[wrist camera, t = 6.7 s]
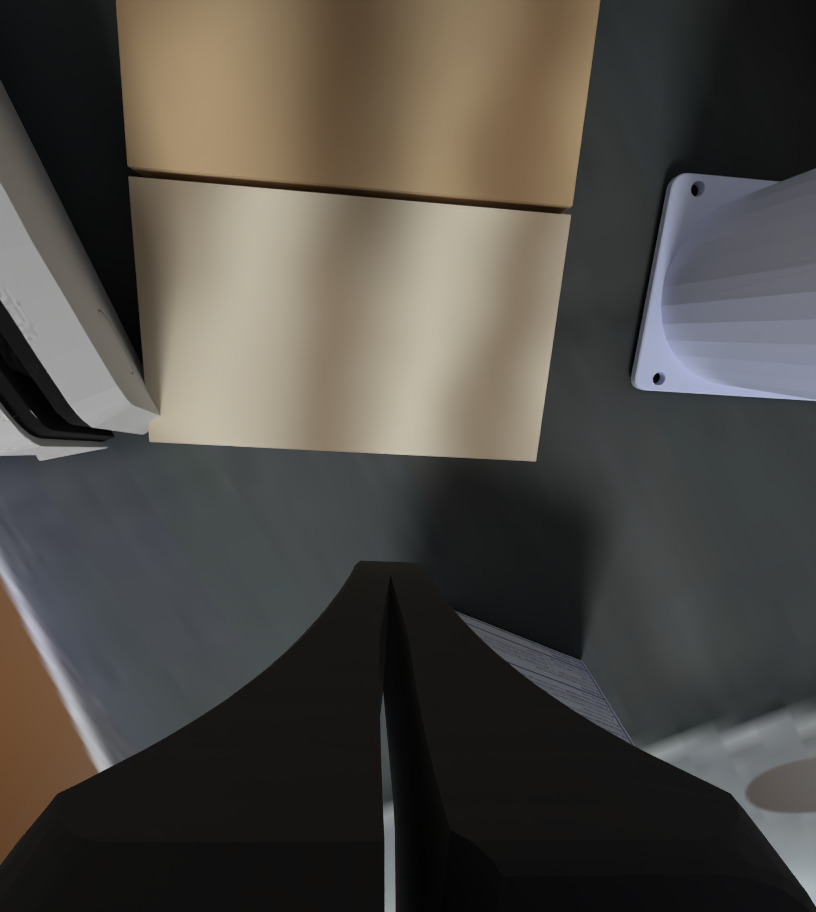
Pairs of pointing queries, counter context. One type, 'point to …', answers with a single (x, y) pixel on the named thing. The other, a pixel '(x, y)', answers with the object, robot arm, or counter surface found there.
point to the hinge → (56, 322)
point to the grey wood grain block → (552, 674)
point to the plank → (361, 96)
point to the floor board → (344, 320)
